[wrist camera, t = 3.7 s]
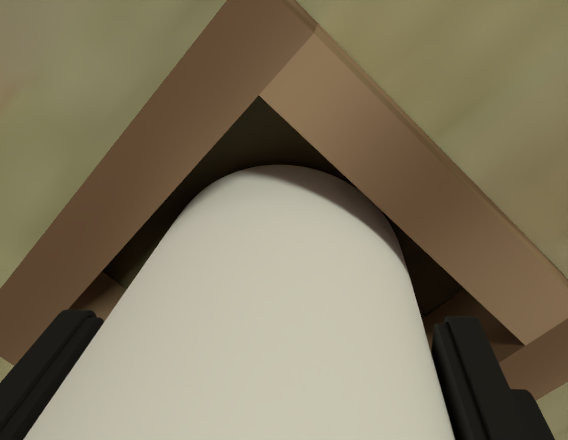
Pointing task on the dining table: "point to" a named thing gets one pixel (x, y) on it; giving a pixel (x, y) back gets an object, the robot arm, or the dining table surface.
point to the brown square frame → (336, 149)
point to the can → (261, 327)
